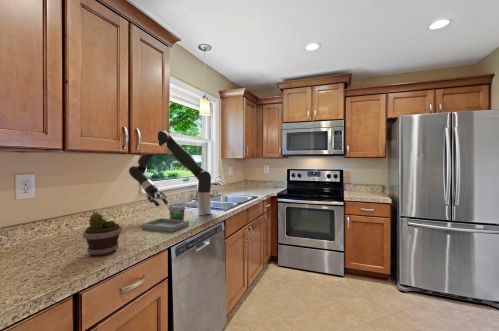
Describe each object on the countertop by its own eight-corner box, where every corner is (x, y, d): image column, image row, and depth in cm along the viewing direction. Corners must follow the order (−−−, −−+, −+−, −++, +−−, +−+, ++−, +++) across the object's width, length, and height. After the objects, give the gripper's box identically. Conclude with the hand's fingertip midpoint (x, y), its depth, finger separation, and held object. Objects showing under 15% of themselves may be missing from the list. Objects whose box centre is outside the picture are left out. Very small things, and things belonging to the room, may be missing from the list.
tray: (160, 222, 160) (160, 218, 160) (188, 225, 152) (188, 220, 152) (142, 229, 145) (142, 224, 145) (172, 232, 137) (172, 227, 137)
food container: (164, 221, 162) (164, 207, 162) (170, 219, 168) (170, 205, 168) (180, 223, 158) (179, 208, 158) (185, 220, 164) (185, 206, 164)
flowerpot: (106, 245, 118) (105, 204, 117) (129, 249, 112) (128, 206, 112) (75, 256, 104) (74, 210, 104) (100, 261, 98) (99, 212, 98)
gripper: (144, 185, 163) (158, 202, 159) (159, 183, 176) (172, 199, 172) (138, 192, 165) (152, 210, 161) (153, 190, 178) (166, 206, 174)
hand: (162, 204), depth 166 cm, fingers open, 8 cm apart
